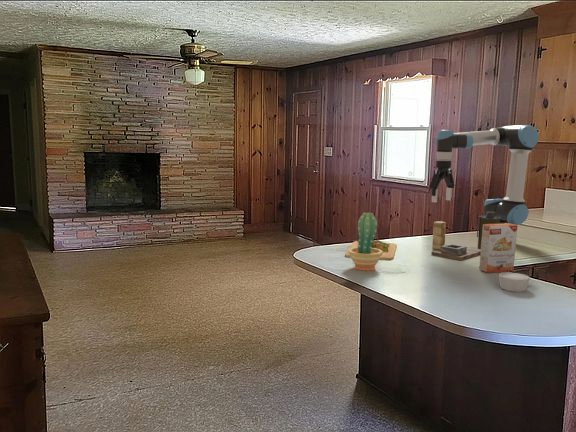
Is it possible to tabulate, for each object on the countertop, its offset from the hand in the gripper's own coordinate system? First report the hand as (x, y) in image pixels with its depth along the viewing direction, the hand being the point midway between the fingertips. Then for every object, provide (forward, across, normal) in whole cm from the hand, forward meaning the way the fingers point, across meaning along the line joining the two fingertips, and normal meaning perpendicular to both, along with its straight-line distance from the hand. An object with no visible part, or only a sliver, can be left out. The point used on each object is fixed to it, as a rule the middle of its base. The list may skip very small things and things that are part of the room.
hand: (441, 201), depth 279 cm
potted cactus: (+26, +62, 0) cm, 67 cm away
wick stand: (+25, +4, +14) cm, 29 cm away
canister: (+25, -16, +19) cm, 35 cm away
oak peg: (+25, 0, 0) cm, 25 cm away
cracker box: (+25, +22, +42) cm, 54 cm away
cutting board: (+26, +32, -19) cm, 45 cm away
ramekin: (+26, +43, +60) cm, 78 cm away
